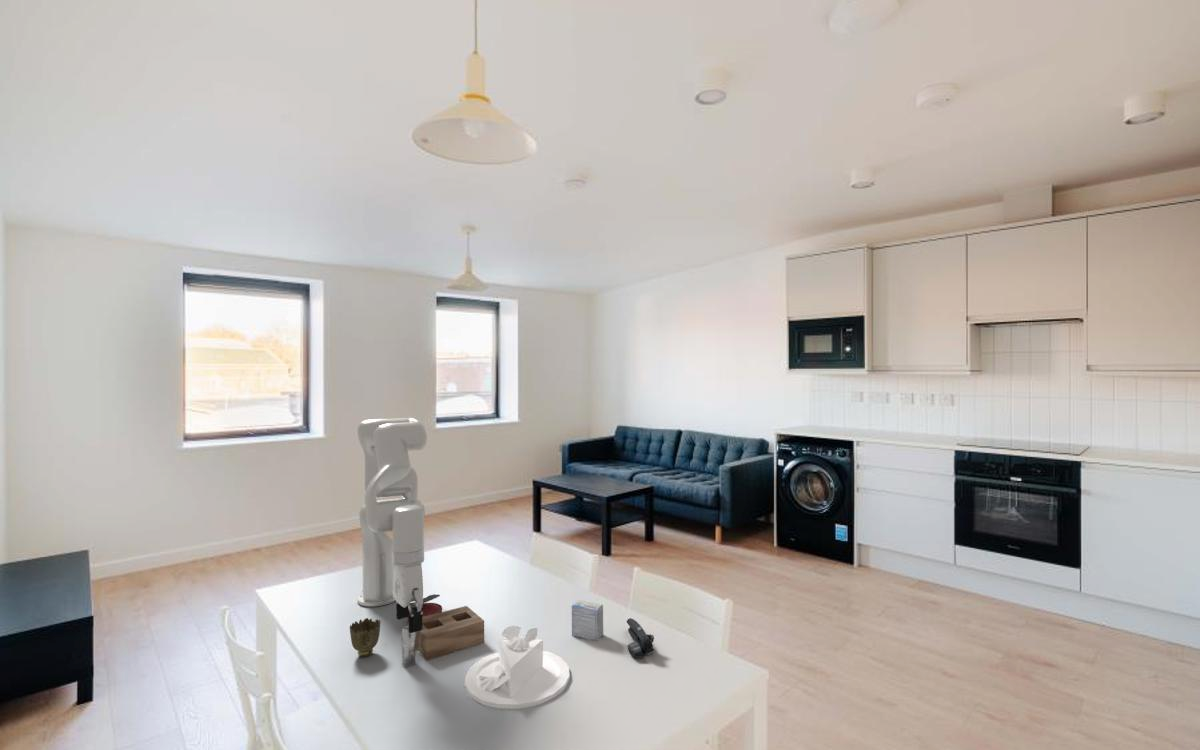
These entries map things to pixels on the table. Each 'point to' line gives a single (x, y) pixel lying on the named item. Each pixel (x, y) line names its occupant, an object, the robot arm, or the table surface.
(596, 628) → the medicine box
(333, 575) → the table surface
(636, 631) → the can opener
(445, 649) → the hole block
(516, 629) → the dish
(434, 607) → the canned food
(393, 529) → the robot arm
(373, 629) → the cup
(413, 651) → the pin
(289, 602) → the table surface
